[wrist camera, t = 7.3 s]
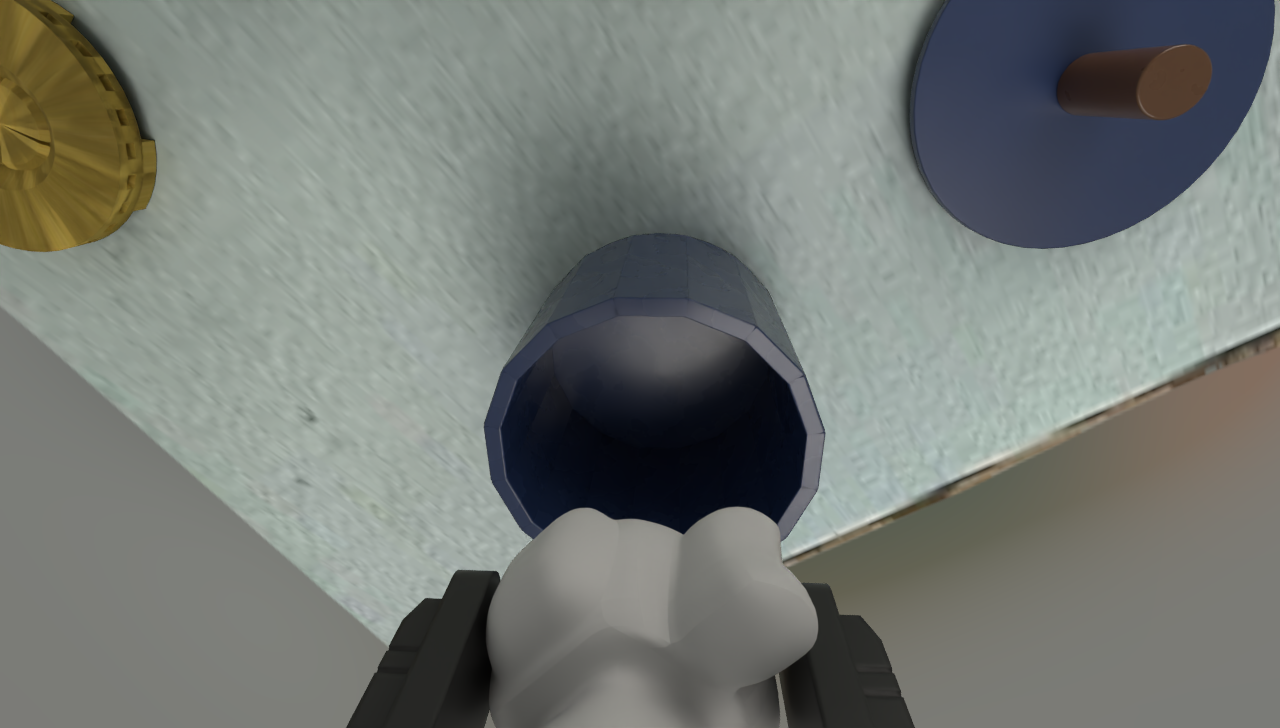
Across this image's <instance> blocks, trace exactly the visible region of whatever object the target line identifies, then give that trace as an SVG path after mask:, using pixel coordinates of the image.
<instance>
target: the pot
mask: <svg viewBox="0 0 1280 728" xmlns="http://www.w3.org/2000/svg"><path fill="white" fill-rule="evenodd" d="M484 432H485V439H486V447H487V454H488V461H489V469H490V476H491V480H492V483H493V485H494V487H495V488H496V490H497V491H498V493H499V495H500V496H501V498H502V499H503V501H504V503H505V504H506V506H507V508H508V509H509V511H510V512H511V514H512V516H513V517H514V519H515V521H516V522H517V524H518V525H519V527H520V528H521V530H522V531H523V532H525V533H526V534H527V535H529V536H530V537H531V538H532V539H535V538H536V537H537V536H538V535H539V534H540V533H541V532H542V531H543V530H544V529H545V528H547V527H548V526H549V525H550V524H551V523H552V522H553V521H555V520H556V519H557V518H559V517H560V516H562V515H563V514H565V513H567V512H569V511H571V510H574V509H578V508H592V509H595V510H597V511H599V512H601V513H603V514H604V515H606V516H607V517H609V518H611V519H613V520H620V519H638V520H645V521H649V522H653V523H657V524H660V525H663V526H666V527H668V528H671V529H673V530H675V531H677V532H679V533H681V534H683V535H684V534H685V533H686V532H687V531H688V530H689V529H690V528H691V527H692V526H693V525H694V524H695V523H696V522H698V521H699V520H701V519H702V518H704V517H706V516H707V515H709V514H711V513H713V512H715V511H717V510H720V509H724V508H728V507H745V508H751V509H754V510H756V511H758V512H761V513H762V514H764V515H766V516H767V517H769V518H770V519H771V520H772V521H774V522H775V523H776V524H777V526H778V527H779V531H780V539H781V541H783V540H784V539H786V537H788V535H789V534H790V532H791V531H792V529H793V527H794V526H795V524H796V523H797V521H798V520H799V518H800V517H801V515H802V514H803V512H804V510H805V509H806V507H807V506H808V504H809V503H810V501H811V500H812V498H813V497H814V495H815V494H816V492H817V489H818V486H819V478H820V471H821V463H822V455H823V448H824V440H825V429H824V426H823V424H822V421H821V418H820V415H819V412H818V409H817V406H816V404H815V401H814V398H813V395H812V392H811V389H810V387H809V384H808V381H807V378H806V375H805V373H804V371H803V368H802V366H801V364H800V362H799V359H798V357H797V355H796V353H795V350H794V348H793V346H792V344H791V341H790V339H789V337H788V335H787V332H786V330H785V328H784V325H783V323H782V321H781V319H780V316H779V314H778V312H777V310H776V307H775V305H774V303H773V301H772V298H771V296H770V294H769V292H768V290H767V289H766V288H765V287H764V286H763V285H762V284H761V283H760V282H759V280H758V279H757V278H756V277H755V276H754V275H753V273H752V272H751V271H750V270H749V269H748V268H747V267H746V266H745V265H743V264H742V263H741V262H740V261H739V260H738V259H737V258H736V257H735V256H733V255H732V254H730V253H727V252H726V251H725V250H723V249H720V248H718V247H716V246H714V245H712V244H710V243H708V242H705V241H702V240H699V239H696V238H693V237H689V236H685V235H678V234H665V233H655V234H642V235H634V236H631V237H627V238H624V239H621V240H618V241H615V242H612V243H610V244H608V245H606V246H604V247H602V248H600V249H598V250H596V251H594V252H592V253H590V254H587V255H586V256H585V257H584V258H583V259H582V260H581V261H580V262H579V263H578V264H577V265H576V266H575V267H574V268H573V269H572V270H571V271H570V272H569V273H568V274H567V276H566V277H565V278H564V279H563V280H562V281H561V282H560V283H559V284H558V285H557V286H556V287H555V288H554V290H553V291H552V293H551V294H550V296H549V297H548V299H547V301H546V302H545V304H544V305H543V307H542V308H541V310H540V311H539V313H538V315H537V316H536V318H535V319H534V321H533V322H532V324H531V325H530V327H529V329H528V330H527V332H526V333H525V335H524V336H523V338H522V339H521V341H520V343H519V344H518V346H517V347H516V349H515V350H514V352H513V353H512V355H511V357H510V358H509V360H508V361H507V363H506V364H505V366H504V367H503V369H502V371H501V374H500V377H499V380H498V383H497V386H496V389H495V392H494V395H493V398H492V401H491V404H490V407H489V410H488V413H487V416H486V419H485V422H484Z"/></svg>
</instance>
